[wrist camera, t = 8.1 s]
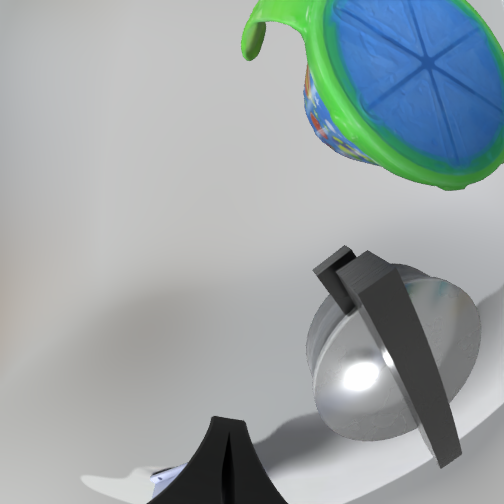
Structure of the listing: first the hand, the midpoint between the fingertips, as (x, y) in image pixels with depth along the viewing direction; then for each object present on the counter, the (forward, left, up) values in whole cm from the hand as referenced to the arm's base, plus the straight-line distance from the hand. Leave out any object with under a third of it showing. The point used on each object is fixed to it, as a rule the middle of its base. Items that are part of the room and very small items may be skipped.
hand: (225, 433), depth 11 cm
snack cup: (+16, +7, -11) cm, 20 cm away
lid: (+8, -8, -6) cm, 13 cm away
